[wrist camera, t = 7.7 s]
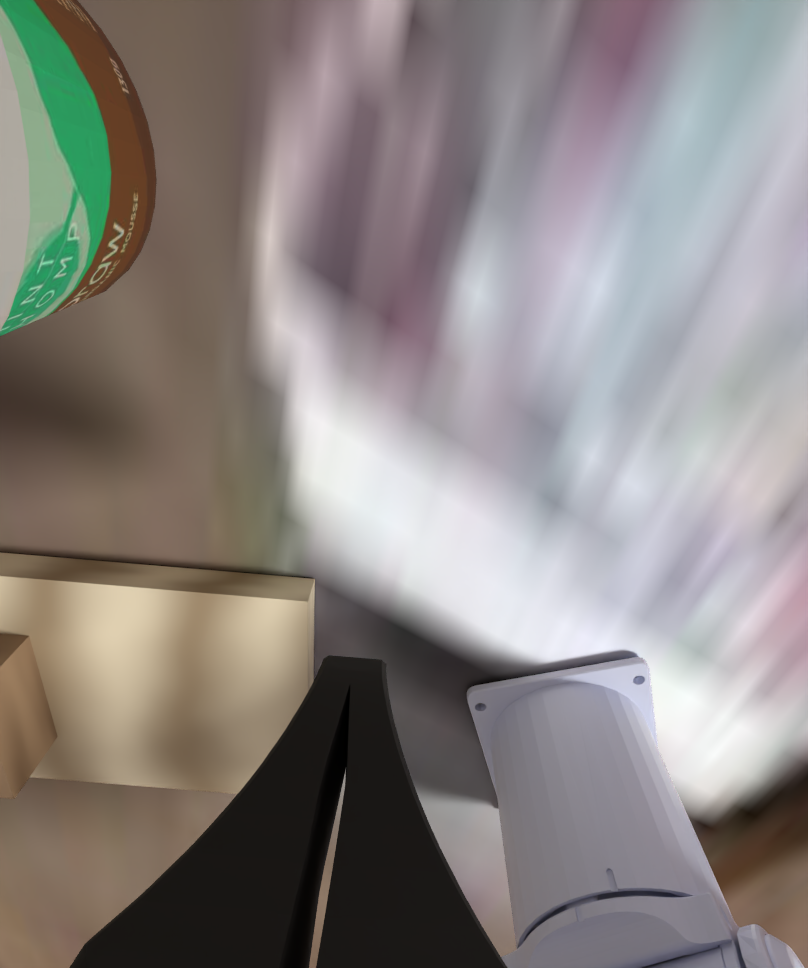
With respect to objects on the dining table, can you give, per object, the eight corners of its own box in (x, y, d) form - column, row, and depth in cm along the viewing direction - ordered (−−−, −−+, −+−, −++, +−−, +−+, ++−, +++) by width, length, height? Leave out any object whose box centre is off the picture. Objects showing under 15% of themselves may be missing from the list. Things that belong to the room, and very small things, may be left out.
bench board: (314, 578, 23) (308, 601, 22) (312, 771, 28) (307, 799, 27) (-220, 534, 23) (-260, 554, 21) (-121, 736, 28) (-149, 763, 27)
